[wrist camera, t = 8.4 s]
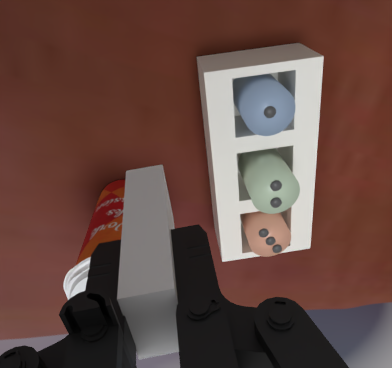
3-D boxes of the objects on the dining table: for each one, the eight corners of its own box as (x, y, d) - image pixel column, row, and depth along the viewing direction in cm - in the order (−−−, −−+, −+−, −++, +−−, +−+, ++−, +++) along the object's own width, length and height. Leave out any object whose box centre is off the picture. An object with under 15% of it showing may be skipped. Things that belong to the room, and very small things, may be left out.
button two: (236, 146, 37) (250, 177, 31) (280, 139, 37) (301, 169, 31) (239, 183, 39) (252, 218, 34) (279, 177, 39) (299, 211, 34)
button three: (236, 194, 42) (248, 228, 37) (274, 188, 42) (292, 221, 37) (238, 225, 44) (250, 260, 39) (274, 219, 44) (291, 254, 39)
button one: (229, 70, 35) (242, 90, 29) (275, 64, 35) (297, 82, 29) (231, 114, 37) (245, 140, 32) (275, 108, 37) (295, 133, 32)
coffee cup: (172, 184, 42) (181, 281, 30) (145, 237, 46) (142, 343, 33) (102, 159, 40) (77, 252, 27) (78, 216, 43) (47, 323, 30)
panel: (196, 56, 35) (203, 72, 30) (299, 42, 36) (323, 56, 30) (214, 228, 46) (222, 261, 41) (292, 216, 46) (310, 248, 41)
